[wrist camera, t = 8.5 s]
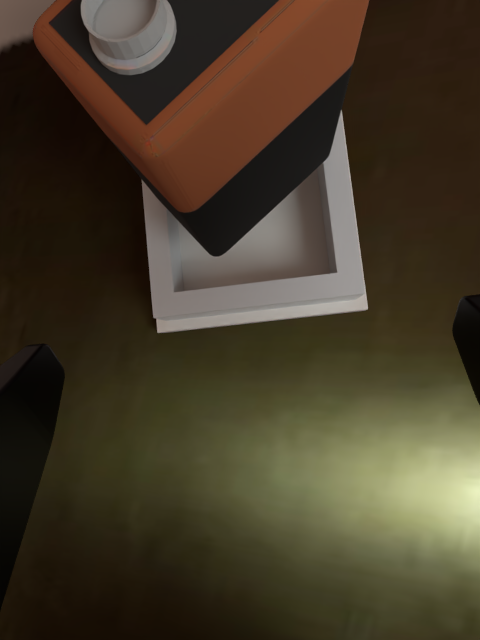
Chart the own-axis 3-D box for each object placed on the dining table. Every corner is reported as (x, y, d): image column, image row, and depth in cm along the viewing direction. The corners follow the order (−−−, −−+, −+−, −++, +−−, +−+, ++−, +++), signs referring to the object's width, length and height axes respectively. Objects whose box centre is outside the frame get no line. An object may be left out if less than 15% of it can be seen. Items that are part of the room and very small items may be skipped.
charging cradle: (364, 310, 19) (378, 304, 16) (161, 333, 19) (143, 330, 17) (331, 56, 20) (339, 11, 17) (140, 88, 21) (120, 51, 18)
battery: (334, 155, 17) (416, -135, 7) (217, 264, 17) (128, 138, 7) (265, 89, 17) (245, -271, 7) (152, 194, 17) (-18, -17, 7)
